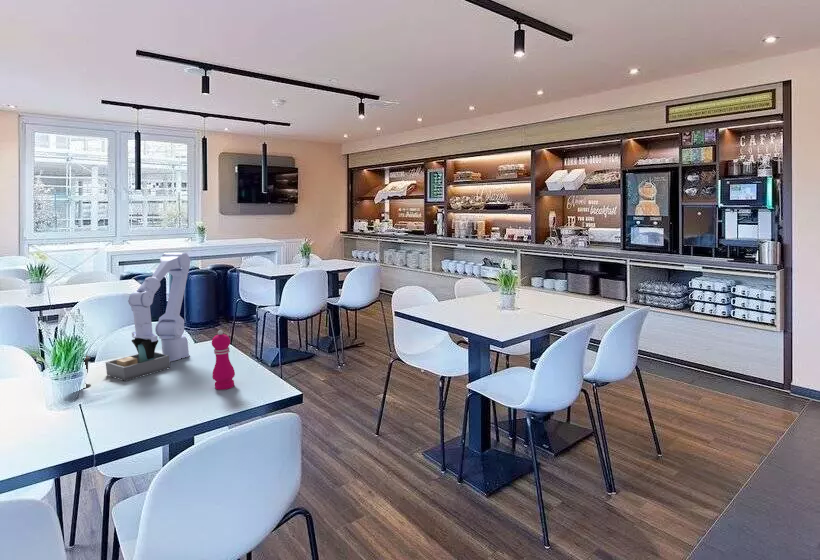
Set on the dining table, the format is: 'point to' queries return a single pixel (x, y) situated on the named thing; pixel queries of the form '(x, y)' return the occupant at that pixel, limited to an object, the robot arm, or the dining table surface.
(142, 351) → the teal block
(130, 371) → the tote
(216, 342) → the pepper mill
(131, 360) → the oak cube
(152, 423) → the dining table surface
